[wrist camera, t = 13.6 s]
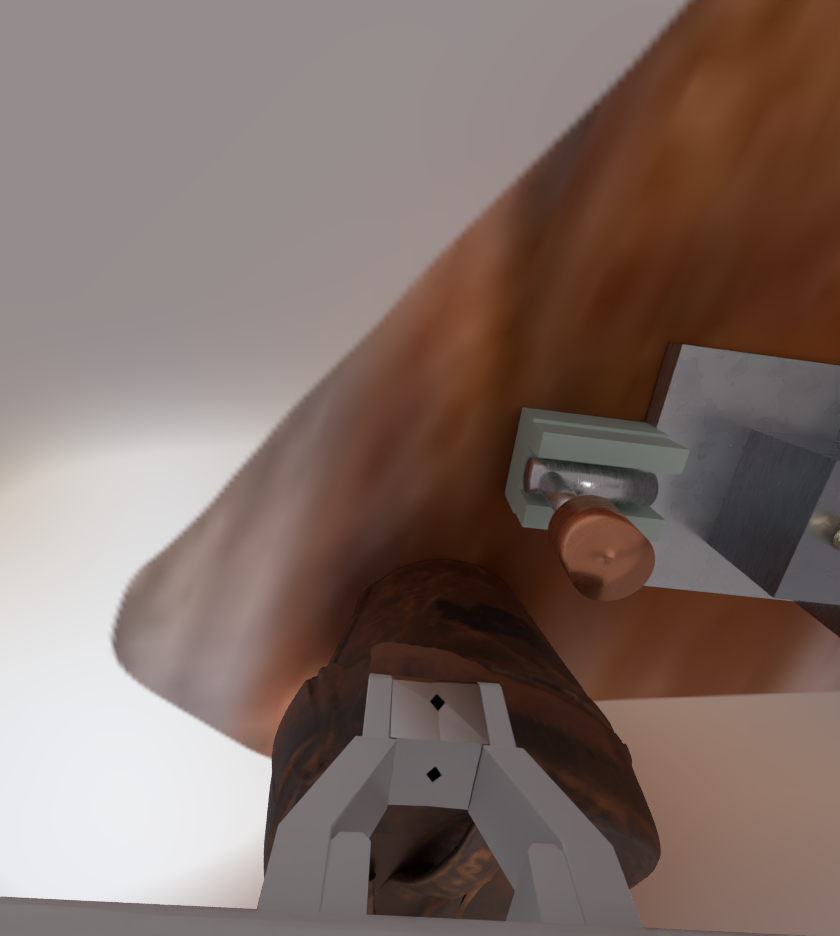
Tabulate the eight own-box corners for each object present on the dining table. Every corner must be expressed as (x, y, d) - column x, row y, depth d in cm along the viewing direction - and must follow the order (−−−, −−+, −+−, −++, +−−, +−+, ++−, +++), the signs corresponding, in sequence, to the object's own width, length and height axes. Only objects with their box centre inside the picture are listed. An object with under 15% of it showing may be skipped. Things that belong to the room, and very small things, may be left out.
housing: (828, 438, 28) (966, 483, 21) (778, 551, 31) (885, 625, 24) (751, 428, 28) (865, 471, 21) (707, 543, 31) (794, 615, 24)
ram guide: (644, 422, 29) (691, 446, 24) (619, 507, 31) (657, 545, 26) (522, 407, 29) (544, 428, 24) (504, 494, 31) (521, 530, 26)
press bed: (916, 375, 28) (1040, 393, 23) (809, 592, 34) (889, 650, 28) (668, 342, 28) (734, 352, 22) (600, 569, 33) (638, 625, 27)
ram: (648, 457, 27) (780, 545, 17) (632, 507, 28) (748, 616, 18) (520, 442, 26) (581, 522, 17) (509, 493, 27) (561, 597, 18)
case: (326, 736, 38) (262, 1080, 21) (302, 518, 31) (181, 765, 14) (539, 728, 38) (644, 1059, 22) (560, 511, 32) (737, 745, 15)
